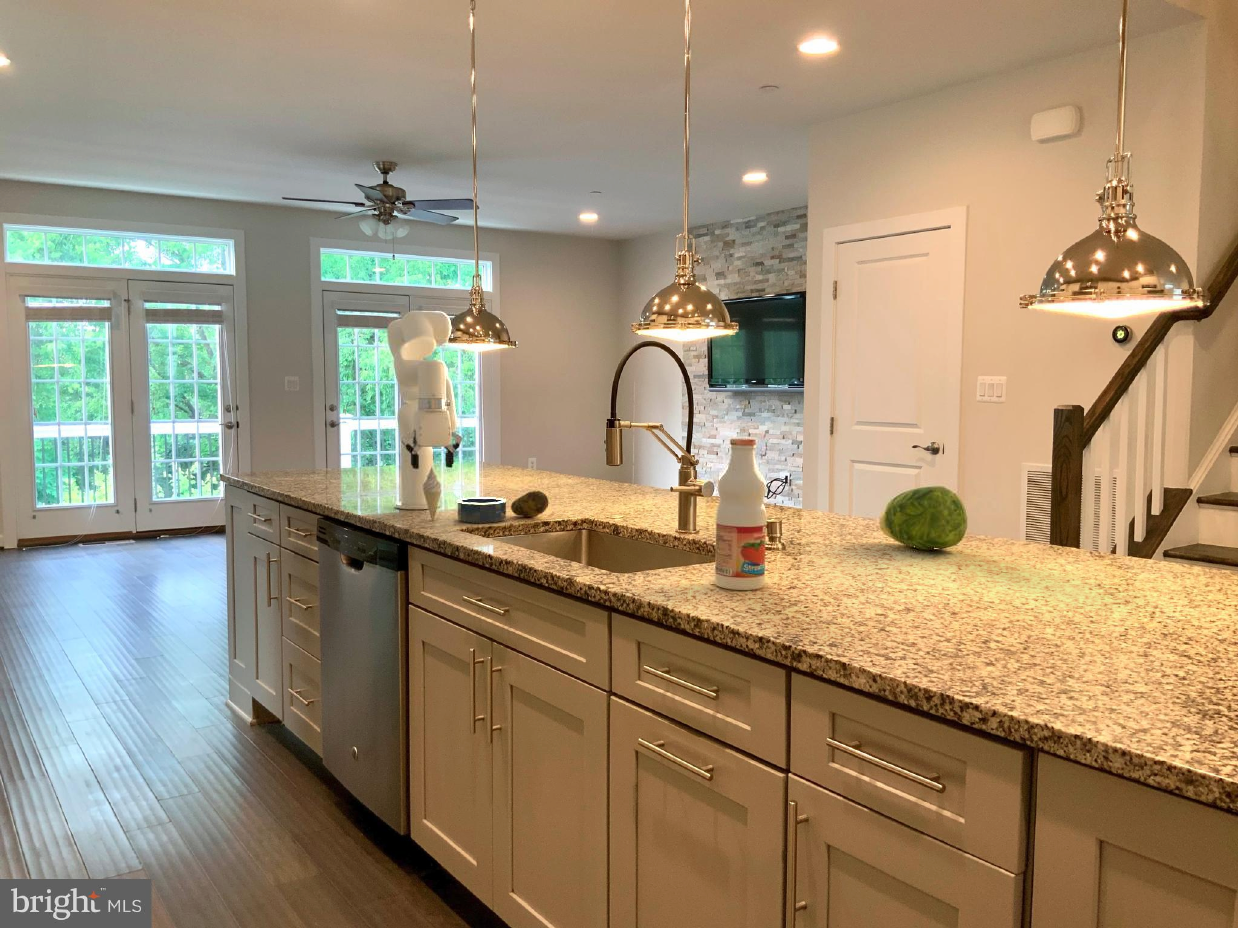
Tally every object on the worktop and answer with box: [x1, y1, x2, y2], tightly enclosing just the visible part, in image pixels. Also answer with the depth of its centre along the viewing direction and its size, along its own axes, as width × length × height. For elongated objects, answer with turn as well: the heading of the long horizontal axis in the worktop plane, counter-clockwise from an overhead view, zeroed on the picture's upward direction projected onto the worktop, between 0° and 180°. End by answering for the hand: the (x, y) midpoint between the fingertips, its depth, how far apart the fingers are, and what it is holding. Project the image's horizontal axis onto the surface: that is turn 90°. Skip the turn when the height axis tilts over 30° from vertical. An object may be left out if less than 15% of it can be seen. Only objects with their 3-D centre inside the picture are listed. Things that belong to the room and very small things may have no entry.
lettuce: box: [878, 485, 968, 552], centre depth 220 cm, size 16×21×15 cm
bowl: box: [456, 497, 507, 524], centre depth 257 cm, size 13×13×6 cm
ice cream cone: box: [423, 467, 442, 522], centre depth 255 cm, size 5×5×15 cm
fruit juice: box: [714, 438, 767, 591], centre depth 176 cm, size 9×9×28 cm
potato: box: [510, 490, 550, 518], centre depth 263 cm, size 8×13×8 cm, turn 27°
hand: (432, 467), depth 254 cm, fingers open, 9 cm apart
